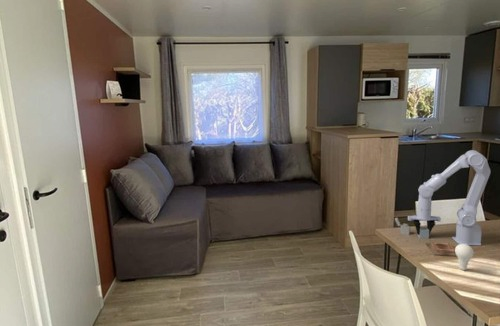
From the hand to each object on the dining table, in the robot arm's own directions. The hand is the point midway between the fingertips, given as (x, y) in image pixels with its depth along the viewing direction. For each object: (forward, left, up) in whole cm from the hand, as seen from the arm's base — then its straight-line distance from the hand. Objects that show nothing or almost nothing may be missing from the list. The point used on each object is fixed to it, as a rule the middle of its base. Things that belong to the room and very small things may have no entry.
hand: (423, 234), depth 155 cm
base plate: (-4, +15, -1) cm, 16 cm away
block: (0, 0, -1) cm, 1 cm away
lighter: (+9, -4, -2) cm, 10 cm away
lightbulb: (-5, +32, -2) cm, 32 cm away
